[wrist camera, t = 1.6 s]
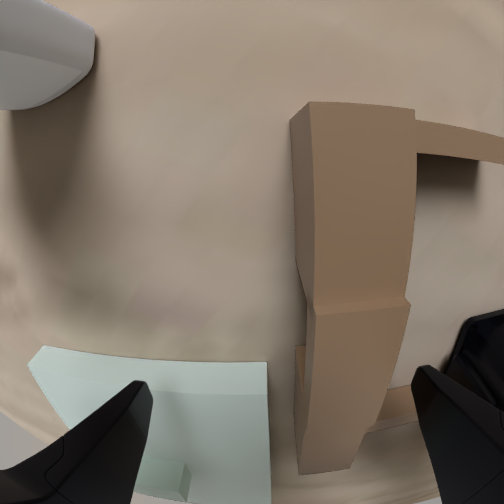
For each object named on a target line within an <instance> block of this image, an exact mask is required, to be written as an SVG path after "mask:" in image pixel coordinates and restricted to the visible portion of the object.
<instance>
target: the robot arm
mask: <svg viewBox="0 0 504 504" xmlns="http://www.w3.org/2000/svg"><path fill="white" fill-rule="evenodd" d="M411 391H412V395H413V399H414V403H415V408H416V412H417V417H418V421H419V425H420V428H421V431H422V434H423V437H424V440H425V443H426V447H427V450H428V453H429V456H430V460H431V463H432V466H433V470H434V473H435V477H436V481H437V484H438V488H439V492H440V496H441V500H442V504H504V309H502V310H498V311H494V312H490V313H486V314H482V315H478V316H474V317H471V318H469V319H468V320H467V321H466V323H465V325H464V327H463V330H462V333H461V335H460V338H459V341H458V343H457V346H456V349H455V351H454V354H453V356H452V359H451V361H450V363H449V366H448V368H447V370H446V372H445V375H444V374H443V373H441V372H440V371H438V370H437V369H435V368H433V367H432V366H430V365H423V366H419V367H418V368H417V370H416V372H415V375H414V377H413V380H412V383H411ZM152 407H153V396H152V394H151V392H150V389H149V387H148V384H147V383H146V382H145V381H140V380H134V381H132V382H131V383H130V384H128V385H127V386H126V387H125V388H123V389H122V390H121V391H120V392H118V393H117V394H116V395H115V396H113V397H112V398H111V399H109V400H108V401H107V402H106V403H104V404H103V405H102V406H101V407H99V408H98V409H97V410H95V411H94V412H93V413H92V414H90V415H89V416H88V417H86V418H85V419H84V420H82V421H81V422H80V423H79V424H77V425H76V426H75V427H73V428H72V429H71V430H69V431H68V432H67V433H65V434H64V436H61V437H60V438H59V439H57V440H56V441H55V442H53V443H52V444H50V445H49V446H48V447H46V448H45V449H43V450H42V451H40V452H38V453H37V454H35V455H33V456H32V457H30V458H28V459H26V460H24V461H23V462H21V463H19V464H17V465H16V466H14V467H12V468H9V469H5V470H0V504H130V502H131V498H132V494H133V491H134V487H135V483H136V479H137V475H138V471H139V468H140V464H141V460H142V457H143V453H144V450H145V446H146V442H147V438H148V432H149V425H150V419H151V413H152Z"/></svg>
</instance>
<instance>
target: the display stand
mask: <svg viewBox="0 0 504 504" xmlns="http://www.w3.org/2000/svg"><path fill="white" fill-rule="evenodd" d="M27 366H28V368H29V370H30V371H31V373H32V375H33V377H34V378H35V380H36V381H37V383H38V385H39V386H40V388H41V390H42V391H43V393H44V394H45V396H46V397H47V399H48V400H49V402H50V403H51V405H52V406H53V408H54V409H55V410H56V412H57V413H58V415H59V416H60V417H61V419H62V420H63V421H64V423H65V424H66V425H67V427H68V428H69V429H70V430H71V429H72V428H73V427H75V426H76V425H77V424H79V423H80V422H81V421H82V420H84V419H85V418H86V417H88V416H89V415H90V414H92V413H93V412H94V411H95V410H97V409H98V408H99V407H101V406H102V405H103V404H104V403H106V402H107V401H108V400H109V399H111V398H112V397H113V396H115V395H116V394H117V393H118V392H120V391H121V390H122V389H123V388H125V387H126V386H127V385H128V384H130V383H131V382H132V381H134V380H140V381H145V382H146V383H147V384H148V387H149V389H150V392H151V394H152V396H153V407H152V413H151V419H150V425H149V432H148V438H147V442H146V446H145V450H144V453H143V457H142V460H141V464H140V468H139V471H138V475H137V479H136V483H135V487H134V491H133V492H136V493H140V494H145V495H149V496H153V497H158V498H164V499H169V500H175V501H181V502H190V503H198V504H271V460H270V431H269V405H268V381H267V362H233V363H222V362H182V361H163V360H149V359H137V358H127V357H117V356H109V355H101V354H93V353H86V352H80V351H73V350H67V349H62V348H56V347H51V346H46V345H44V346H43V347H42V348H41V349H40V350H39V351H38V353H37V354H36V355H35V356H34V357H33V358H32V360H31V361H30V362H29V363H28V364H27Z"/></svg>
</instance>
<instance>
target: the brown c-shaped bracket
mask: <svg viewBox="0 0 504 504" xmlns="http://www.w3.org/2000/svg"><path fill="white" fill-rule="evenodd" d="M290 133H291V149H292V166H293V187H294V211H295V247H296V263H297V267H298V270H299V274H300V278H301V281H302V285H303V288H304V292H305V296H306V300H307V332H306V345H304V346H296V356H295V390H294V425H295V436H296V448H297V460H298V473H299V475H307V474H316V473H324V472H331V471H338V470H344V469H349V468H350V467H351V464H352V462H353V460H354V458H355V456H356V453H357V451H358V449H359V447H360V444H361V442H362V439H363V437H364V435H365V433H369V432H374V431H379V430H383V429H387V428H392V427H396V426H400V425H403V424H407V423H411V422H414V421H418V417H417V412H416V408H415V403H414V399H413V395H412V391H411V385H408V386H404V387H399V388H395V389H390V390H388V387H389V384H390V381H391V378H392V374H393V371H394V368H395V365H396V361H397V358H398V355H399V351H400V347H401V344H402V340H403V336H404V332H405V328H406V324H407V320H408V315H409V311H410V306H411V304H410V303H409V302H408V301H407V300H406V298H405V297H404V296H405V290H406V285H407V279H408V272H409V265H410V258H411V250H412V241H413V231H414V220H415V205H416V180H417V153H426V154H436V155H445V156H453V157H461V158H468V159H475V160H481V161H487V162H493V163H498V164H503V165H504V138H502V137H499V136H495V135H491V134H487V133H483V132H479V131H475V130H470V129H466V128H461V127H456V126H451V125H445V124H439V123H433V122H427V121H420V120H415V110H414V109H407V108H399V107H391V106H382V105H371V104H357V103H339V102H308V103H307V104H306V105H305V106H304V107H303V108H302V109H301V110H300V111H299V112H298V113H297V114H296V115H294V116H293V117H292V118H291V119H290Z"/></svg>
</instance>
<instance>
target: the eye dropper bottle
mask: <svg viewBox="0 0 504 504" xmlns="http://www.w3.org/2000/svg"><path fill="white" fill-rule="evenodd" d="M94 47H95V30H94V28H93V27H92V26H91V25H89V24H87V23H85V22H84V21H82V20H80V19H78V18H76V17H74V16H73V15H71V14H69V13H67V12H65V11H63V10H61V9H59V8H57V7H55V6H53V5H51V4H49V3H47V2H45V1H43V0H0V110H23V109H29V108H33V107H37V106H40V105H43V104H45V103H47V102H49V101H51V100H53V99H55V98H56V97H58V96H60V95H61V94H63V93H64V92H66V91H67V90H69V89H70V88H71V87H73V86H74V85H75V84H77V83H78V82H79V81H80V80H81V79H82V78H84V77H85V76H86V75H87V74H88V72H89V71H90V70H91V68H92V64H93V59H94Z"/></svg>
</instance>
